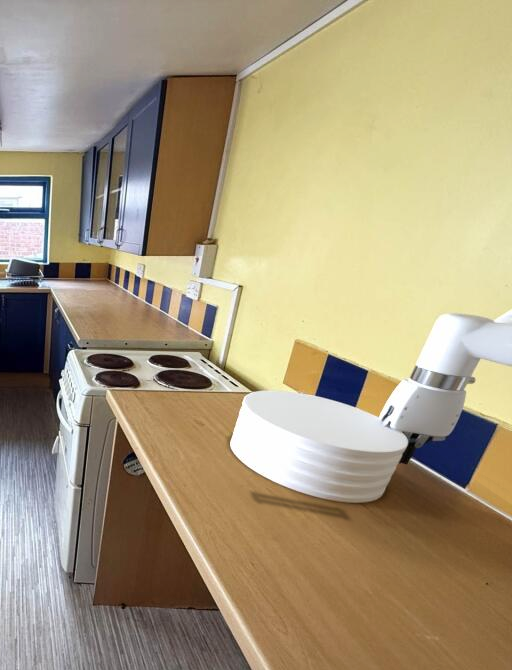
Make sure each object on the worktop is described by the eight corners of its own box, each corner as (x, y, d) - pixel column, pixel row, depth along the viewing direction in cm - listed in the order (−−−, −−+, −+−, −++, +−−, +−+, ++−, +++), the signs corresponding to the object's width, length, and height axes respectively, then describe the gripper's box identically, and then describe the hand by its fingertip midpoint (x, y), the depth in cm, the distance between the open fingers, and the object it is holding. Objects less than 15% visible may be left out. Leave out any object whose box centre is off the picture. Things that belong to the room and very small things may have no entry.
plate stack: (400, 475, 87) (424, 428, 82) (357, 523, 71) (384, 468, 67) (262, 422, 108) (276, 382, 103) (206, 450, 92) (219, 405, 88)
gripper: (470, 377, 79) (428, 457, 86) (380, 367, 82) (347, 445, 89) (503, 392, 72) (454, 477, 79) (404, 380, 76) (365, 462, 83)
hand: (397, 460), depth 84 cm, fingers closed
